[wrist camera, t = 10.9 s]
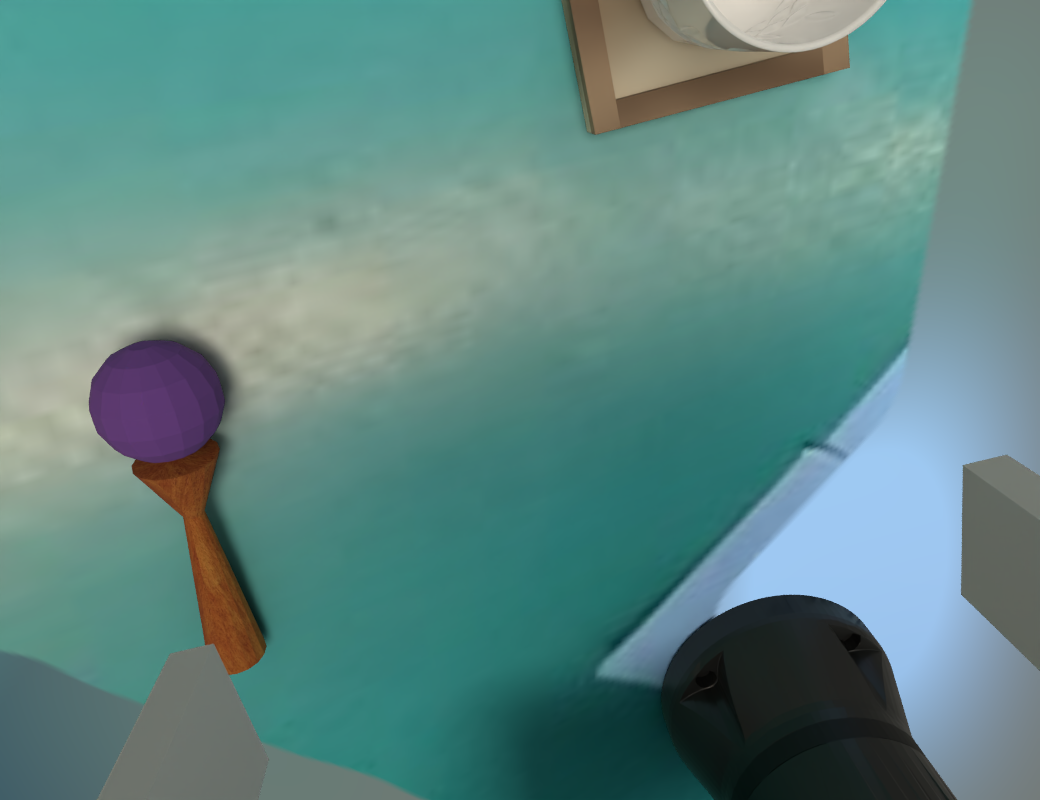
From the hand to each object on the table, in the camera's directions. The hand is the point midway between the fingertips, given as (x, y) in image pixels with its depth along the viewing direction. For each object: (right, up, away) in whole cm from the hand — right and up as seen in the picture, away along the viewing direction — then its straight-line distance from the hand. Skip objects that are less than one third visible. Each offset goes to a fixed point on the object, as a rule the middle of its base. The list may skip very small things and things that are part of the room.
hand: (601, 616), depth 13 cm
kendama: (-19, -2, +30) cm, 35 cm away
